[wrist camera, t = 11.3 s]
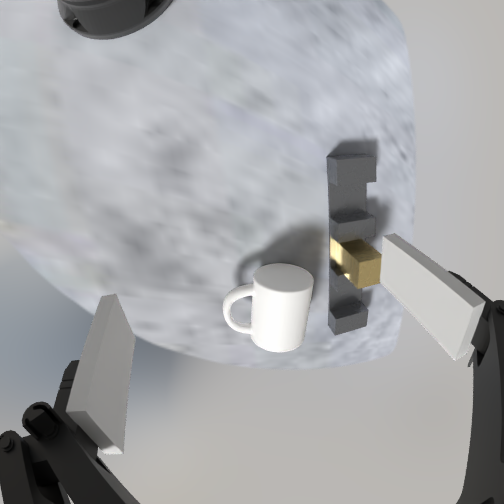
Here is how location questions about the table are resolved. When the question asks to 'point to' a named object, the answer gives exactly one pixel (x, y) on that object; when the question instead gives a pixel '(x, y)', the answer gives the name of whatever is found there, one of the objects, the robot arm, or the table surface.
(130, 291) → the table surface
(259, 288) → the mug
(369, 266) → the block
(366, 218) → the rail
